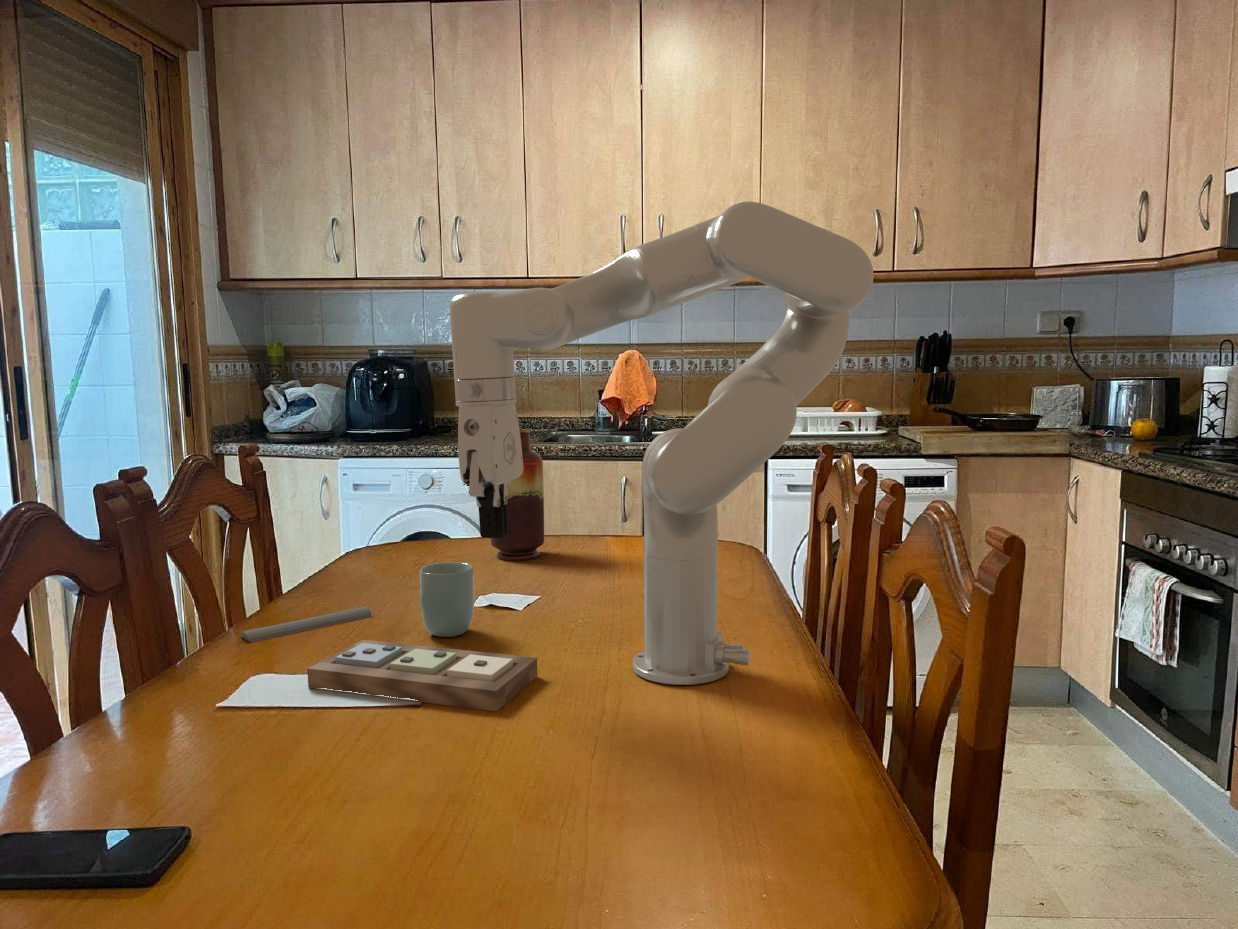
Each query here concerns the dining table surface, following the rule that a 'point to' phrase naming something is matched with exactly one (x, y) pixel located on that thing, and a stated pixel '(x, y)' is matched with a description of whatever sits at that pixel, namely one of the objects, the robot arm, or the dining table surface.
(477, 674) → the tile
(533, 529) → the vase
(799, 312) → the robot arm
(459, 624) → the cup
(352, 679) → the board
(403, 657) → the tile
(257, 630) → the gray half cylinder
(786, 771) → the dining table surface
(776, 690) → the dining table surface
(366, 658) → the tile
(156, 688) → the dining table surface
